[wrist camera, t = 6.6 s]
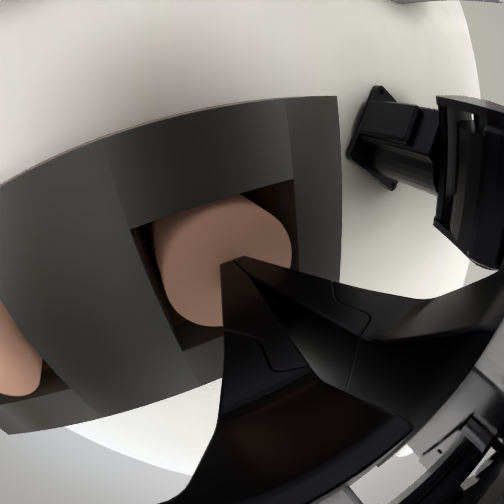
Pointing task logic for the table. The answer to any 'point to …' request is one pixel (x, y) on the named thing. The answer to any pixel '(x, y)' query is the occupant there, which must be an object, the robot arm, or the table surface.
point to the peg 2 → (212, 251)
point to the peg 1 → (17, 359)
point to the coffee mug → (412, 0)
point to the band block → (138, 253)
